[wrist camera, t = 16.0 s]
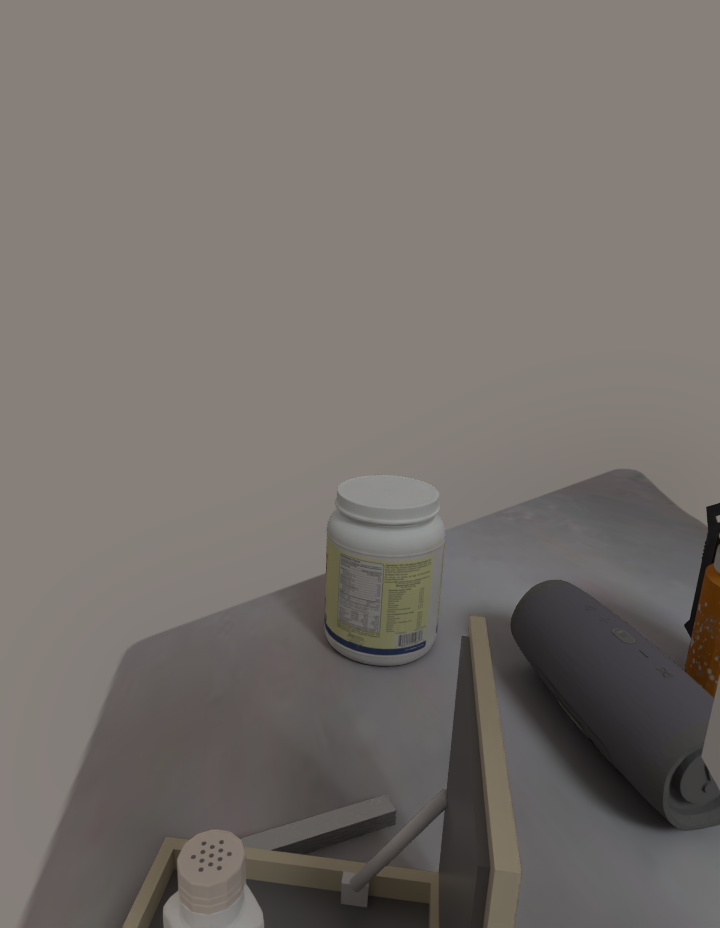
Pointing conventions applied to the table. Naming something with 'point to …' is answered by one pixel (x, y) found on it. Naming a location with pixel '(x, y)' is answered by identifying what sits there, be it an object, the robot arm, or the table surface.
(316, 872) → the case
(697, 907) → the table surface
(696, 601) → the canister
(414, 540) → the supplement tub
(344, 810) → the bar
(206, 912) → the pepper shaker
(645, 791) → the bluetooth speaker
